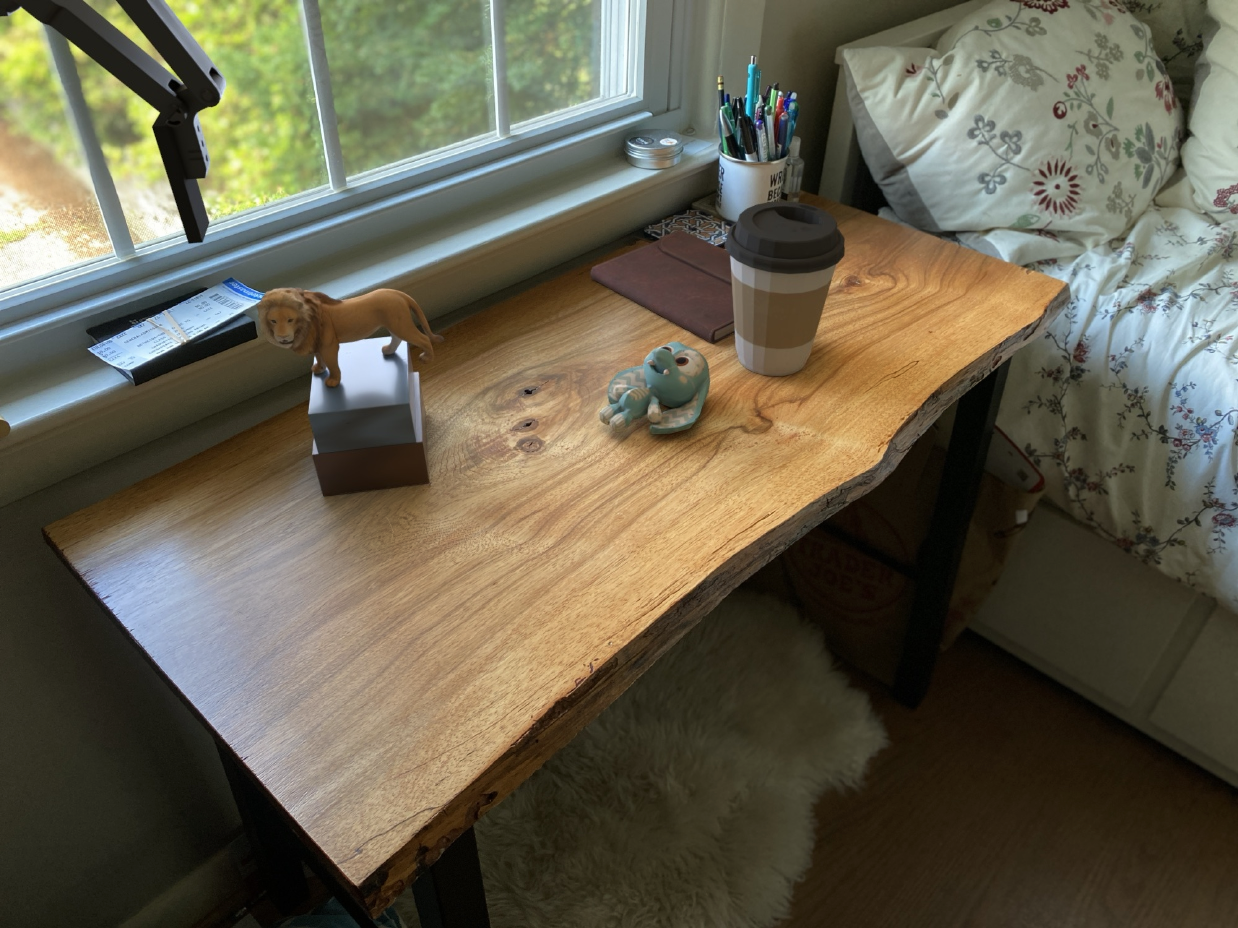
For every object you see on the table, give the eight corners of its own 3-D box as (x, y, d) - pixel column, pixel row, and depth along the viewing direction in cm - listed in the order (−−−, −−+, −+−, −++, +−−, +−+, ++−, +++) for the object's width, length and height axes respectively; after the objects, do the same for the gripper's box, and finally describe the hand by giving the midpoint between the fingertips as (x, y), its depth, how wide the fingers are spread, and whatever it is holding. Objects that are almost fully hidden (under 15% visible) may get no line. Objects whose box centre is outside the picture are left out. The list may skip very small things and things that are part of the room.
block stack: (322, 496, 79) (301, 415, 74) (328, 422, 88) (309, 344, 82) (429, 483, 81) (415, 402, 75) (425, 411, 89) (412, 334, 84)
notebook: (710, 345, 98) (712, 328, 97) (590, 280, 110) (590, 264, 109) (802, 298, 106) (805, 283, 105) (681, 242, 118) (681, 227, 116)
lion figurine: (289, 411, 75) (261, 311, 69) (269, 380, 78) (241, 283, 72) (456, 357, 81) (444, 261, 75) (431, 330, 84) (417, 238, 79)
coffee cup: (847, 353, 97) (871, 216, 88) (790, 401, 90) (809, 259, 81) (755, 319, 103) (768, 187, 93) (694, 362, 96) (702, 224, 86)
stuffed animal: (562, 364, 85) (659, 302, 90) (576, 421, 90) (667, 359, 95) (638, 416, 79) (738, 346, 83) (649, 474, 84) (743, 405, 88)
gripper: (209, -234, 44) (305, 199, 57) (-399, -227, 40) (-144, 235, 53) (182, -228, 38) (297, 252, 51) (-530, -218, 34) (-208, 297, 48)
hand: (72, 244), depth 52 cm, fingers open, 13 cm apart
